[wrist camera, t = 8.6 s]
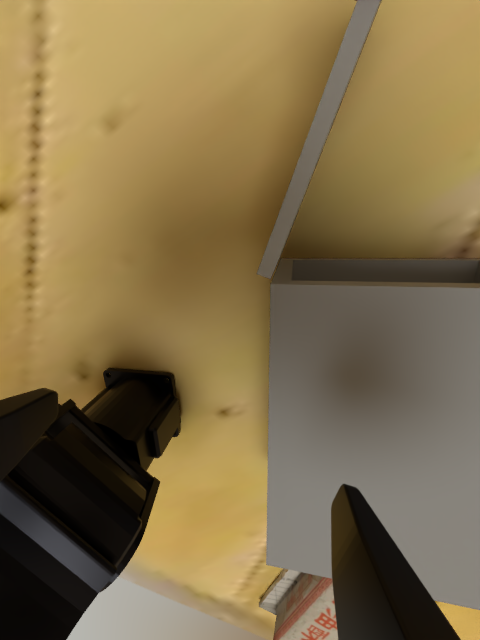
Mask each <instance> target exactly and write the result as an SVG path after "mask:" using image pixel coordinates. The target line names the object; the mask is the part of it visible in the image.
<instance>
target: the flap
mask: <svg viewBox="0 0 480 640" xmlns="http://www.w3.org/2000/svg"><path fill="white" fill-rule="evenodd" d="M356 1H357V3H356V6H355V8H354V11H353V14H352V16H351V19H350V22H349V25H348V27H347V30H346V33H345V35H344V38H343V41H342V44H341V46H340V49H339V52H338V54H337V57H336V60H335V63H334V65H333V68H332V71H331V73H330V76H329V79H328V81H327V84H326V87H325V90H324V92H323V95H322V98H321V100H320V103H319V106H318V109H317V111H316V114H315V117H314V119H313V122H312V125H311V128H310V130H309V133H308V136H307V138H306V141H305V144H304V147H303V149H302V152H301V155H300V157H299V160H298V163H297V165H296V168H295V171H294V174H293V176H292V179H291V182H290V184H289V188H288V190H287V193H286V196H285V198H284V201H283V204H282V206H281V209H280V212H279V215H278V217H277V220H276V223H275V225H274V228H273V231H272V234H271V236H270V239H269V242H268V244H267V247H266V250H265V253H264V255H263V258H262V261H261V263H260V266H259V269H258V271H257V274H258V275H261V276H263V277H266V278H269V279H271V277H272V275H273V273H274V270H275V268H276V266H277V263H278V261H279V259H280V257H281V254H282V252H283V249H284V246H285V244H286V241H287V239H288V236H289V234H290V231H291V229H292V226H293V224H294V221H295V219H296V216H297V214H298V211H299V208H300V206H301V203H302V201H303V198H304V196H305V193H306V191H307V188H308V186H309V183H310V181H311V178H312V176H313V173H314V171H315V168H316V165H317V163H318V160H319V158H320V155H321V153H322V150H323V148H324V145H325V143H326V140H327V138H328V135H329V133H330V130H331V128H332V125H333V122H334V120H335V117H336V115H337V112H338V110H339V107H340V105H341V102H342V100H343V97H344V95H345V92H346V90H347V87H348V85H349V82H350V79H351V77H352V74H353V72H354V69H355V67H356V64H357V62H358V59H359V57H360V54H361V52H362V49H363V47H364V44H365V41H366V39H367V36H368V34H369V31H370V29H371V26H372V24H373V21H374V19H375V16H376V14H377V11H378V8H379V6H380V3H381V1H382V0H356Z"/></svg>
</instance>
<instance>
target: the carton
mask: <svg viewBox="0 0 480 640" xmlns="http://www.w3.org/2000/svg"><path fill="white" fill-rule="evenodd" d="M342 484H348V485H351V486H354V487H356V488H358V489H359V490H360V492H361V493H362V495H363V496H364V498H365V499H366V501H367V502H368V504H369V505H370V507H371V508H372V509H373V511H374V512H375V514H376V515H377V517H378V518H379V520H380V521H381V523H382V524H383V526H384V527H385V529H386V530H387V532H388V533H389V535H390V536H391V537H392V539H393V540H394V542H395V543H396V545H397V546H398V548H399V549H400V551H401V552H402V554H403V555H404V557H405V558H406V560H407V561H408V563H409V564H410V566H411V567H412V568H413V570H414V571H415V573H416V574H417V576H418V577H419V579H420V580H421V582H422V583H423V585H424V586H425V588H426V589H427V591H428V592H429V594H430V595H431V596H432V598H433V599H434V600H435V601H439V602H444V603H449V604H454V605H458V606H463V607H468V608H472V609H477V610H480V258H281V259H280V262H279V264H278V267H277V269H276V272H275V274H274V277H273V279H272V282H271V288H270V355H269V423H268V490H267V558H266V565H270V566H275V567H279V568H284V569H289V570H294V571H298V572H303V573H308V574H312V575H317V576H322V577H327V578H331V579H332V565H331V506H332V502H333V500H334V498H335V496H336V494H337V492H338V490H339V488H340V486H341V485H342Z"/></svg>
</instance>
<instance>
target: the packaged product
mask: <svg viewBox="0 0 480 640" xmlns="http://www.w3.org/2000/svg"><path fill="white" fill-rule="evenodd" d="M259 607H261V608H263V609H265V610H267V611H269V612H271V613H273V614H275V615H277V617H276V622H275V631H274V638H273V640H338V633H337V623H336V613H335V604H334V594H333V583H332V579H331V578H327V577H322V576H317V575H312V574H308V573H303V572H298V571H294V570H289V569H283V570H282V571H281V573H280V575H279V577H278V578H277V579H276V580H275V581H274V583H273V584H272V585H271V586H270V588H269V589H268V590H267V591H266V593H265V594H264V596H263V597H262V598H261V600H260V602H259Z"/></svg>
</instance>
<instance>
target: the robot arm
mask: <svg viewBox="0 0 480 640" xmlns="http://www.w3.org/2000/svg"><path fill="white" fill-rule="evenodd" d="M109 373H110V374H111V375H110V374H109ZM103 376H104V380H105V385H106V388H105V389H104V390H103V391H102V392H101V393H99V394H98V395H97V396H96V397H95V398H94V399H93V400H92V401H90V402H89V403H88V404H87V405H86V406H85V407H84V408H82V409H81V410H80V409H79V408H78V407H77V406H76V403H75V402H74V401H72V400H71V399H69V400H68V401H67V402H65V403H64V404H63V405H60V404H58V394H57V392H56V391H53V390H50V389H47V388H41V389H37V390H34V391H30V392H27V393H23V394H20V395H16V396H13V397H10V398H6V399H3V400H0V640H66V639H67V638H68V636H69V634H70V633H71V631H72V630H73V628H74V627H75V625H76V623H77V622H78V621H79V619H80V618H81V616H82V615H83V613H84V612H85V611H86V609H87V608H88V607H89V605H90V604H91V603H92V601H93V600H94V599H95V597H96V596H97V594H98V593H99V592H101V591H103V590H104V589H106V588H107V587H108V586H109V585H110V584H112V582H113V581H114V580H115V579H116V578H117V577H118V576H119V575H120V573H121V572H122V571H123V569H124V568H125V567H126V565H127V564H128V562H129V561H130V559H131V558H132V556H133V555H134V553H135V551H136V550H137V548H138V546H139V544H140V542H141V540H142V537H143V535H144V532H145V529H146V526H147V523H148V519H149V516H150V513H151V510H152V507H153V503H154V500H155V497H156V494H157V491H158V487H159V484H160V481H159V480H158V479H157V478H155V477H152V476H151V475H150V474H149V473H148V472H147V469H148V468H149V466H150V464H151V463H152V461H153V459H154V458H159V457H160V456H161V455H162V454H163V452H164V450H165V449H166V447H167V445H168V443H169V442H170V440H171V438H172V437H177V436H178V435H179V433H180V422H181V418H180V409H179V401H178V398H177V397H176V391H175V383H174V377H173V375H172V374H170V373H163V372H152V371H140V370H128V369H117V368H108V369H106V370H105V371H104V372H103ZM166 378H168V379H169V381H168V380H167V379H166ZM331 565H332V583H333V594H334V604H335V613H336V623H337V633H338V640H461V639H460V638H459V636H458V635H457V633H456V632H455V630H454V629H453V627H452V626H451V625H450V623H449V622H448V620H447V619H446V617H445V616H444V614H443V613H442V611H441V610H440V608H439V607H438V605H437V604H436V602H435V601H434V599H433V598H432V596H431V595H430V594H429V592H428V591H427V589H426V588H425V586H424V585H423V583H422V582H421V580H420V579H419V577H418V576H417V574H416V573H415V571H414V570H413V568H412V567H411V566H410V564H409V563H408V561H407V560H406V558H405V557H404V555H403V554H402V552H401V551H400V549H399V548H398V546H397V545H396V543H395V542H394V540H393V539H392V537H391V536H390V535H389V533H388V532H387V530H386V529H385V527H384V526H383V524H382V523H381V521H380V520H379V518H378V517H377V515H376V514H375V512H374V511H373V509H372V508H371V507H370V505H369V504H368V502H367V501H366V499H365V498H364V496H363V495H362V493H361V492H360V490H359V489H358V488H356V487H354V486H351V485H348V484H342V485H341V486H340V488H339V490H338V492H337V494H336V496H335V498H334V500H333V502H332V506H331Z"/></svg>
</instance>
